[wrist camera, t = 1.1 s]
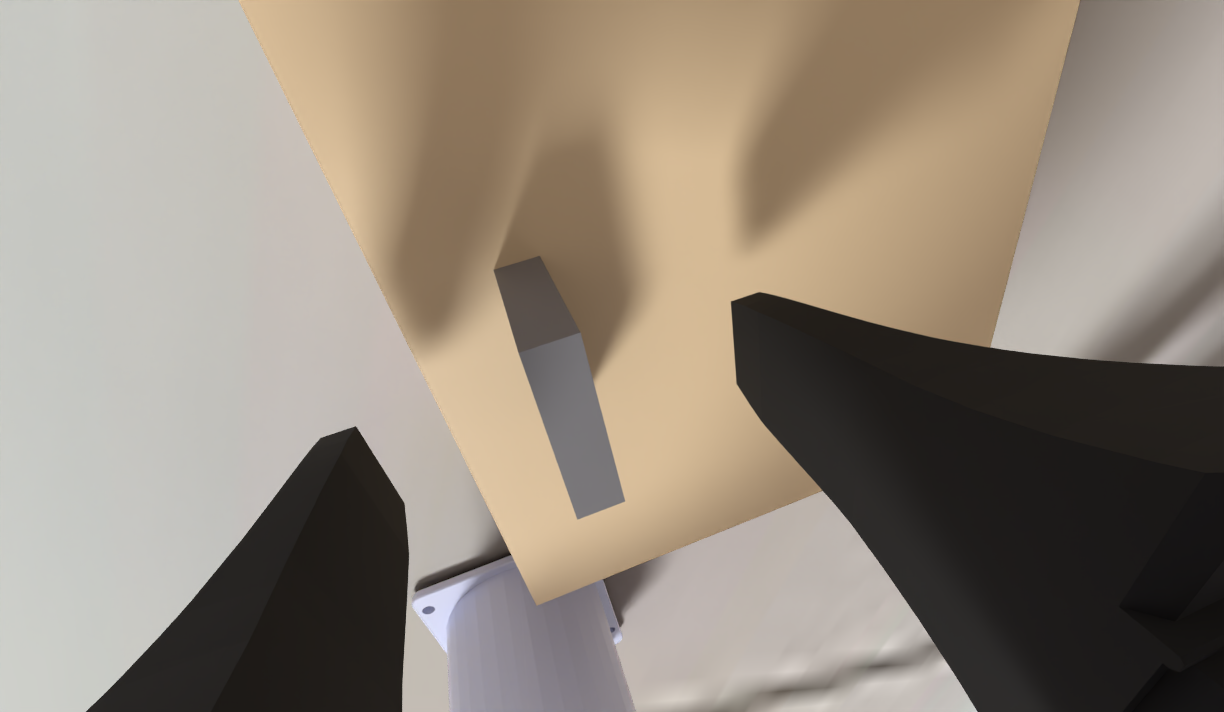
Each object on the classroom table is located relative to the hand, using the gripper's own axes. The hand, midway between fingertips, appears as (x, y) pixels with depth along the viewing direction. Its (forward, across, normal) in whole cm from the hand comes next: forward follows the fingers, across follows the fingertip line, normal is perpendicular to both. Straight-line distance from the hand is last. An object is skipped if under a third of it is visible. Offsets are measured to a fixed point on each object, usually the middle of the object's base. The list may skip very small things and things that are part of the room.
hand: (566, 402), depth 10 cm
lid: (+3, -6, 0) cm, 6 cm away
